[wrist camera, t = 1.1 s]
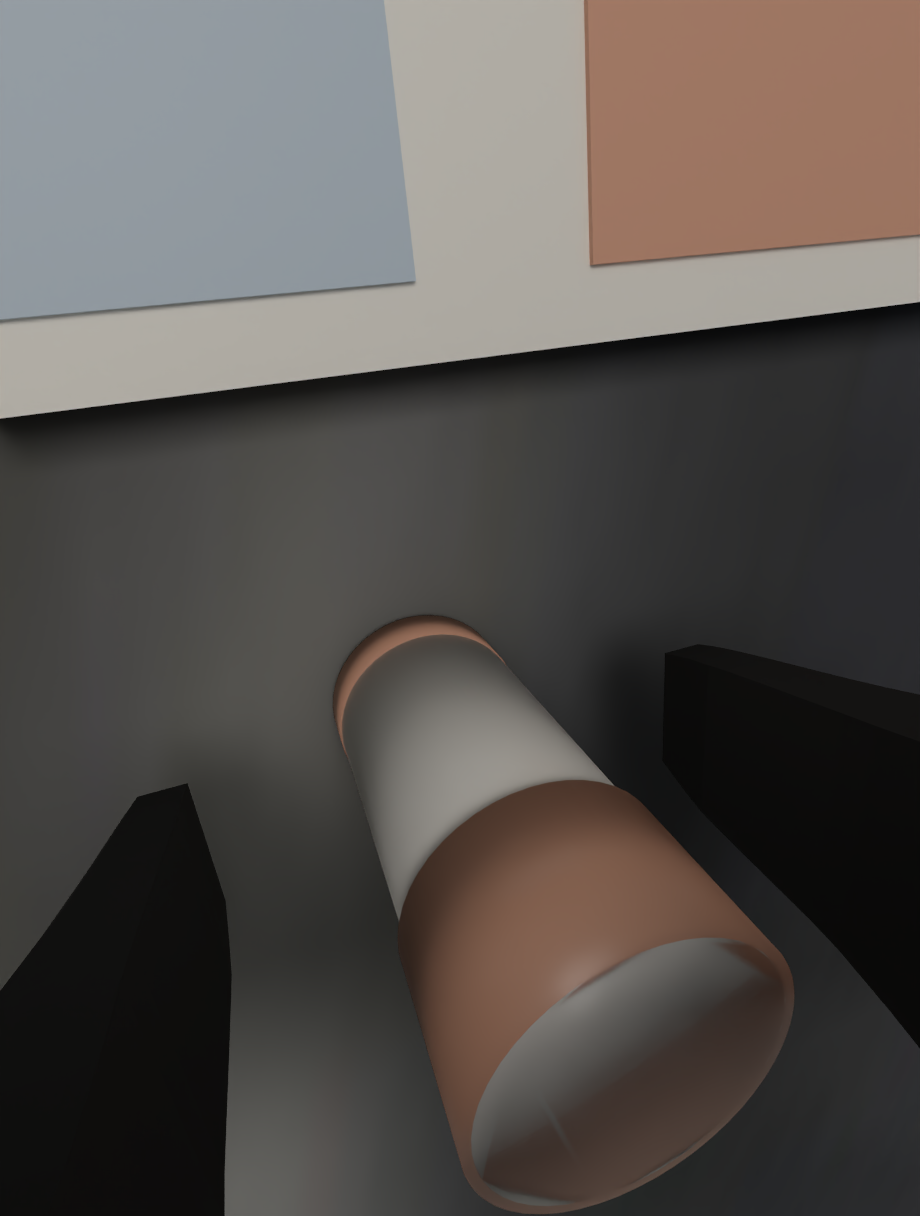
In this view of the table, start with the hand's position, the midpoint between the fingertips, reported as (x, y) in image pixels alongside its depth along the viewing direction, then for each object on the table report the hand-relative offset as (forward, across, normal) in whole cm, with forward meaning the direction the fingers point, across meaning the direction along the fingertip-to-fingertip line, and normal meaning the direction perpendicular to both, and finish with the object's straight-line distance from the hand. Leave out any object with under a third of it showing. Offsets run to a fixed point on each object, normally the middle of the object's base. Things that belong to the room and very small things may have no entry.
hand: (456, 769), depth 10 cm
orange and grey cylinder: (+2, 0, 0) cm, 2 cm away
